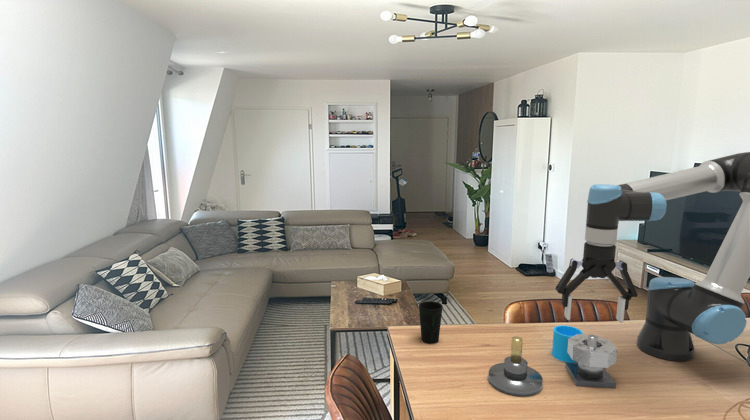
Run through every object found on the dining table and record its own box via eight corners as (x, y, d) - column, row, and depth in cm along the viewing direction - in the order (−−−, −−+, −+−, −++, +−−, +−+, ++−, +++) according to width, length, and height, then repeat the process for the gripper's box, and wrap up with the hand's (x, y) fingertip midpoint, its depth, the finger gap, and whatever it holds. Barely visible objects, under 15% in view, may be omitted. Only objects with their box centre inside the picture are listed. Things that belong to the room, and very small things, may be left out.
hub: (535, 370, 128) (538, 329, 126) (548, 398, 114) (551, 352, 112) (485, 367, 130) (487, 326, 128) (492, 394, 116) (493, 349, 114)
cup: (425, 333, 153) (426, 299, 151) (445, 339, 148) (446, 304, 146) (413, 341, 147) (414, 306, 145) (434, 347, 142) (435, 311, 140)
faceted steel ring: (604, 348, 128) (605, 335, 128) (621, 368, 117) (622, 354, 117) (563, 346, 130) (564, 333, 129) (576, 365, 119) (577, 351, 118)
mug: (586, 362, 133) (588, 336, 131) (558, 363, 133) (560, 336, 131) (567, 344, 145) (569, 320, 143) (542, 344, 144) (544, 320, 143)
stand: (601, 369, 129) (605, 329, 127) (615, 388, 119) (619, 345, 117) (565, 367, 130) (568, 328, 128) (576, 385, 120) (579, 343, 118)
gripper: (643, 241, 121) (635, 316, 124) (547, 238, 124) (542, 311, 127) (657, 248, 113) (648, 327, 117) (554, 244, 116) (549, 322, 120)
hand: (593, 319), depth 122 cm, fingers open, 13 cm apart
